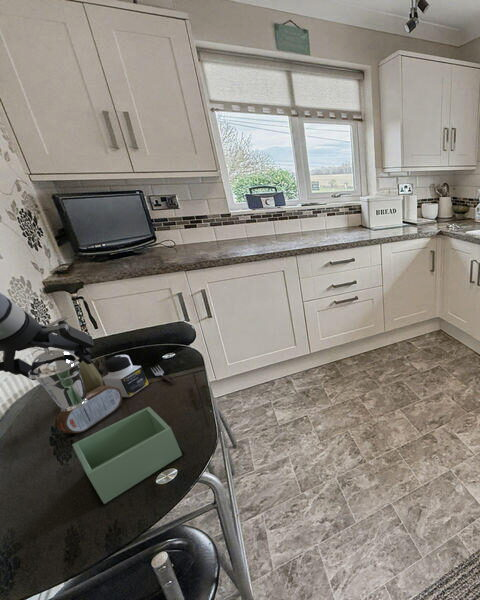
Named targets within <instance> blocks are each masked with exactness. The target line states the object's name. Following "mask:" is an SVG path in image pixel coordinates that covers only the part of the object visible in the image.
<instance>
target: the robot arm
mask: <svg viewBox="0 0 480 600" xmlns="http://www.w3.org/2000/svg"><path fill="white" fill-rule="evenodd" d="M46 325H47V324H41V323H40V322H39V321H38V320H36V319H35V318H34V317H33V316H32V315H30V314H29V313H28V312H26V311H25V310H24V309H23V307H21V306H19V305H18V304H16V303H15V302H14V301H12V300H11V299H10V298H9V297H8V296H6V295H5V294H3V293H2V292H0V352H2V353H3V354H2V361H0V372H4V373H10V374H12V375H14V376H19V375H21V376H23V377H25V378H27V379H30V378H29V375H28V372H29V371H30V370H31V365H32V364H30V363H28V362H26V361H24V360H23V359H22V358H19V357H17V358H16V352H21V351H25V350H27V349H33V348H41V349H44V348H49V349H50V348H52V349H60V350H69V351H74V354H75V355H76V356H77V357H78V358H80V359H81V360H82V361H84V362H85V363H86V364H87V365H88V364H93V361H92V357H91V354H92V353H91V349H92V348H94V347H95V345H94V339H93V336H92V335H89V334H87V333H86V332H84V331H81V330H79V329H77V328H75V327H73V326H71V325H69V324H68V321H66V320H64V321H59V322H58V324H55V325H53V326H50V327H47V326H46ZM30 380H31V381H37V380H36V379H30Z"/></svg>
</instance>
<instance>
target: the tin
mask: <svg viewBox="0 0 480 600" xmlns="http://www.w3.org/2000/svg"><path fill="white" fill-rule="evenodd" d="M86 395H87V396H86V398H87V399H88V401H87V403H85V404H84V405H82V406H80V407H78V408H76V409H73V410H70V411H62V410H61V409H60V411H59V412H58V415H57V418H56V427H57V429H58V430H59V431H61V432H62V433H65V434H81V433H83V432H86V431H87V430H89V429H90V428H92V427H94V426H95V425H96V424H98V423H99V422H101V421H102V420H104V419H105V418H107V417H108V416H110V415H111V414H113V413H115V411H117V410H118V409H119V407H120V406H121V404H122V402H123V397H122V393H121V391H120V390H119V389H118V388H116V387H112V386H108V385H105V384H104V385H103V386H100V387H98V388H96V389H94V390H93V391H91V392H89V393H87V394H86Z"/></svg>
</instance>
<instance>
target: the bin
mask: <svg viewBox="0 0 480 600" xmlns="http://www.w3.org/2000/svg"><path fill="white" fill-rule="evenodd" d="M71 446H72V448H73V450H74V452H75V454H76V456H77V458H78V460H79V462H80V464H81V467H82V468H83V470H84V472H85V474H86V476H87V478H88V480H89V481H90V483H91V485H92V487H93V488H94V490H95V491H96V494H97V495H98V497H99V498H100V500H101V502H102V503H103V505H105V504H107V503H109V502H110V501H112V500H113V499H115V498H117V497H119V496H120V495H121V494H123V493H125V492H126V491H128V490H129V489H131V488H133V487H134V486H135V485H137V484H139V483H141V482H142V481H143V480H146V479H147V478H148V477H150V476H151V475H153V474H155V473H157V472H158V471H160V470H161V469H163V468H164V467H166V466H167V465H169V464H170V463H172V462H173V461H175V460H177V459H179V458H180V457H181V456H183V453H182V451H181V449H180V446H179V444H178V441H177V439H176V436H175V434H174V432H173V430H172V427H171V426H170V425H168V424H167V423H166V421H164V420H163V419H162V417H160V416H159V414H157V413H156V411H154V410H153V409H152V407H150V406H147V407H145V408H143V409H141V410H139V411H137V412H135V413H132V414H130V415H129V416H127V417H125V418H123V419H121V420H118V421H116V422H115V423H113V424H110V425H108V426H106V427H104V428H103V429H101V430H98V431H97V432H94V433H93V434H90V435H88V436H86V437H84V438H81V439H80V440H78V441H76V442H74V443H72V444H71Z"/></svg>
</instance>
